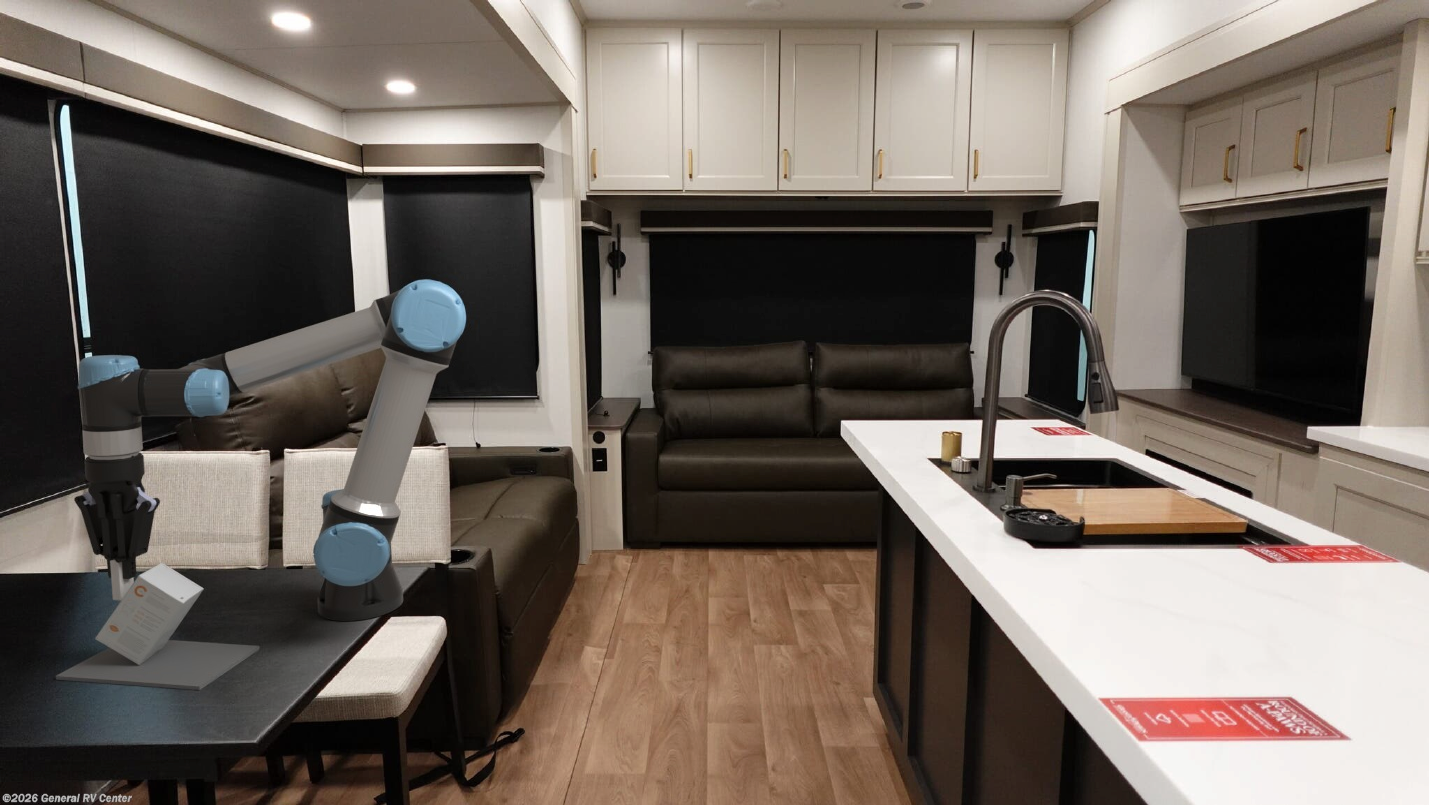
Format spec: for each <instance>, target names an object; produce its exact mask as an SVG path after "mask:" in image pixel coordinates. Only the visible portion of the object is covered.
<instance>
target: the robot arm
mask: <svg viewBox="0 0 1429 805" xmlns="http://www.w3.org/2000/svg"><path fill="white" fill-rule="evenodd" d="M466 322H467V314H466V308H465V305H464V302H463V299H462V298H461V296H460V295H459V294H458V293H457V292H456V291H455V290H454V289H453V288H452V287H450V286H449V285H448V284H445V283H443V282H441V281H440V280H439V281H437V280H433V279H418V280H414V281H413V282H411V283H408V284H407V285H405V286H403V288H401V289H399V290H397V291H395V292H393V293H390V294H388V295H385V296H383V297H380V298H376V299H373V301H372V303H371V305H370V306H369V307H366V308H363V309H360V310H357V311H354V312H353V311H352V312H350V313H348V314H345V315H344V314H343V315H341V316H338V317H334V318H331V319H328V320H325V321H322V322H319V323H315V324H313V325H309V326H306V327H303V328H300V329H296V330H294V331H290V332H287V333H283V334H281V335H277V336H274V337H271V338H268V339H265V340H262V341H258V342H255V343H252V344H249V345H246V346H243V347H240V348H236V349H233V350H231V351H230V350H229V351H227V352H225V353H221V354H217V355H214V356H211V357H208V358H203V359H202V358H201V359H198V360H196V361H192V362H190V363H188V364H187V365H185V366H182V367H180V368H176V369H175V368H172V369H171V368H170V369H161V368H160V369H151V368H149V369H146V368H140V365H139V362H138V359H137V358H136V357H135V356H132V355H121V354H119V355H118V354H116V355H115V354H109V355H108V354H107V355H105V354H104V355H93V356H92V355H91V356H87V357H84V358H82V359H81V360H80V361H79V363H78V385H77V390H78V396H79V404H80V405H79V406H80V407H79V408H80V416H81V427H82V444H83V445H82V447H83V454H84V455H86V456H87V457H85V459H84V473H85V474H84V475H85V480H86V481H87V482H89V485H88V488H87V491H86V492H84V493H83V494H80V495H77V496H75V497H74V499H73V502H74V503H75V504H76V505H77V507H78V508H79V510H80V512H81V515H82V519H83V522H84V526H85V528H86V532H87V535H88V540H89V543H90V545H91V548H92V553H93V554H94V555H95V556H99V555H101V556H102V557H103V558H104V559H105V560H106V564H107V565H106V566H107V576H108V578H109V579H111V580H110V581H111V592H112V600H113V601H120V602H121V600H122V599H123V598H124V596H125V595H126V593H127V592H128V590H129V589H130V587H131V586H132V585H133V583H134V582H135V579H134V578H135V577H136V576H137V560H136V559H137V557H139V556H142V555H145V554H147V553H148V551H149V545H150V541H151V535H152V529H153V523H154V518H155V514H156V510H157V509H158V507H159V506H160V504H161V500H160V498H158V497H154V498H152V497H151V496H149V495H148V494H146V491H145V490H146V489H145V486H144V485H143V481H142V480H143V477H144V475H145V471H146V470H145V457H144V454H142V453H141V451H143V449H144V447H143V432H142V431H143V430H142V417H145V418H147V417H148V418H150V417H198V418H204V417H208V416H210V417H211V416H221V415H223V414H225V413H226V412H227V410H228V406H229V403H230V398H231V397H235V396H237V395H240V394H243V393H246V392H248V391H252V390H255V389H258V388H261V387H264V386H268V385H270V384H274V383H276V382H280V381H282V380H287V379H289V378H292V377H295V376H299V375H301V374H304V373H307V372H311V371H314V370H317V369H320V368H323V367H325V366H329V365H332V364H334V363H339V362H341V361H344V360H347V359H350V358H353V357H357V356H360V355H362V354H365V353H369V352H372V351H375V350H378V349H381V350H382V352H383V354H384V356H385V361H384V364H383V366H382V370H381V373H380V377H379V380H378V381H377V382H378V383H377V385H376V389H375V393H374V396H373V399H372V402H371V404H370V407H369V410H368V414H367V417H366V420H365V422H364V425H363V429H362V432H361V435H360V438H359V442H358V444H357V448H356V451H355V454H354V456H353V460H352V463H351V467H350V469H349V472H348V476H347V478H346V482H345V485H344V488H340V489H336V490H335V489H334V490H331V491H328V492H326V493H325V494H323V496H322V501H321V503H322V504H321V506H320V507H321V509H322V524H321V527H320V528H321V529H320V531H319V533H318V537H317V539H316V540H315V543H314V545H313V549H312V551H313V552H312V553H313V560H314V564H315V567H316V569H317V571H318V573H320V575H321V576H322V577H323V579H322V584H321V587H320V590H319V594H318V596H317V613H318V614H319V616H321V618H324V619H327V620H332V621H341V622H351V621H353V622H355V621H361V620H363V621H364V620H368V619H373V618H377V617H381V616H383V615H387V614H389V613H391V612H393V611H395V610H396V609H398V608H399V607H400V606H401V605H402V604H403V602H404V591H403V587H402V584H401V582H400V579H399V577H398V575H397V572H396V569H395V567H394V565H393V559H392V558H393V556H392V541H393V538H394V534H395V531H396V529H397V524H398V522H399V519H400V516H401V509H400V508H399V505H397V503H396V499H397V496H398V494H399V490H400V488H401V484H402V481H403V479H404V474H405V472H406V468H407V465H408V463H409V459H410V456H411V455H412V450H413V448H414V445H415V441H416V438H417V436H418V432H419V429H420V425H421V423H422V420H423V416H424V414H425V410H426V407H427V405H428V401H429V399H430V395H431V392H432V390H433V385H434V382H435V380H436V376H437V374H438V373H440V372H441V371H443V370H446V369H447V368H449V365H450V364H451V360H452V357H453V354H454V351H455V347H456V345H457V341H458V340H459V339H460V337H461V336H462V335H463V332H464V330H465V328H466Z"/></svg>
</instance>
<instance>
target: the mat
mask: <svg viewBox="0 0 1429 805" xmlns="http://www.w3.org/2000/svg"><path fill="white" fill-rule="evenodd" d="M260 649H261V648H260V646H259V645H252V644H251V645H250V644H236V643H235V644H234V643H219V642H204V641H189V640H188V641H187V640H178V639H177V640H176V639H175V640H174V639H169V640H168V641H167V642H166V644H165V645H164V647H163V648H162V649H160V650H159V651H158V652H156V653H155V654H154V655H152V656H151V657H150V658H148V659H147V660H146V661H144V662H143V663H142V664H140V665H138V664H136V663H135V662H133V661H132V660H130V659H128V658H126V657H125V656H123V655H121V654H120V653H118V652H116V651H115V650H113V649H111V648H110V647H108V648H106V649H104V650H102V651H100V652H98V653H97V654H94V655H93V656H91V657H89V658H87V659H86V660H83V661H81V662H79V663H78V664H75V665H74V666H71V667H70V668H68V669H65V670H64V671H62V672H60V673H58V674H57V675H55V680H57V681H58V680H59V681H72V682H83V683H96V684H98V683H99V684H109V685H110V684H112V685H126V686H136V687H137V686H139V687H140V686H141V687H150V688H151V687H153V688H166V689H179V690H193V691H200V690H201V691H202V689H204V688H205V687H207V686H208V685H209V684H211V683H213V682H214V681H216V680H217V679H218V678H220V677H221V676H223V675H224V674H225V673H227V672H228V671H230V670H231V669H233V668H235V667H236V666H238V665H239V664H240V663H242V662H244V661H245V660H246V659H248V658H249V657H251V656H252V655H254V654H255V653H257V652H259V650H260Z"/></svg>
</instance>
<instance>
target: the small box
mask: <svg viewBox="0 0 1429 805" xmlns="http://www.w3.org/2000/svg"><path fill="white" fill-rule="evenodd" d="M204 589H205V588H203V587H202V586H200V585H199V584H197V583H195V582H194V581H192V580H191V579H189V578H187V577H186V576H184V575H183V574H181V573H179V572H178V571H176V570H174V569H173V568H172V567H170V566H168V565H166V564H165V563H164V562H161V563H159V564H157V565H155V566H153V567H151V568H149V569H148V570H146V571H144V572H142V573H141V574H139V575H138V576H137V577H136V578H135V579H134V583H133V585H132V586H131V587H130V589H129V590H128V592H127V593H126V595H125V596H124V598H123V599H122V600H121V601H120V602H119V603H118V605H117V606H116V608H115V609H114V611H113V612H112V613H111V615H110V616H109V618H108V619H107V620H106V622H105V623H104V625H103V626H102V628H101V629H100V631H99V632H98V634H97V635H96V637H95V638H94V639H95V640H96V641H98V642H99V643H101V644H103V645H104V646H106V647H108V648H109V647H110V648H111V649H113V650H115V651H116V652H118V653H120V654H121V655H123V656H125V657H126V658H128V659H130V660H132V661H133V662H135V663H136V664H138V665H140V664H142V663H143V662H144V661H146V660H147V659H148V658H150V657H151V656H152V655H154V654H155V653H156V652H158V651H159V650H160V649H162V648H163V647H164V645H165V644H166V642H167V641H168V640H170V639H171V636H172V635H173V634H174V633H175V631H176V629H177V628H178V627H179V625H180V624H181V623H182V621H183V619H184V618H185V617H186V615H187V614H188V613H189V611H190V609H191V608H192V607H193V605H194V604H195V602H196V601H197V600H198V598H199V597H200V595H201V593H202V592H203V591H204Z"/></svg>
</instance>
